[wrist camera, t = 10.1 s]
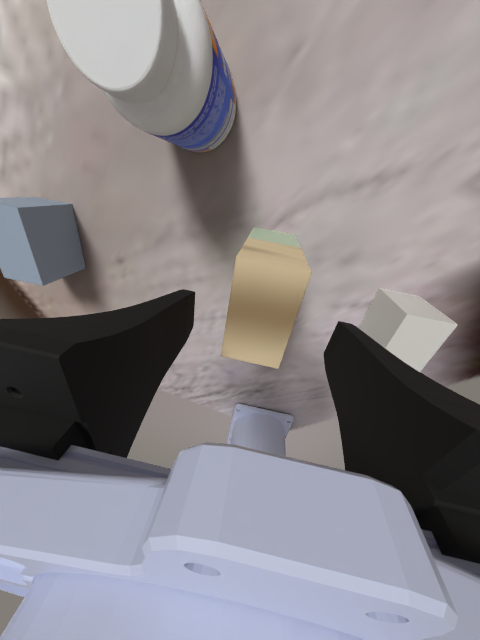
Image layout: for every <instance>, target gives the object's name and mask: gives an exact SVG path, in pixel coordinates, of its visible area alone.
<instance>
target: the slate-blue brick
mask: <svg viewBox="0 0 480 640" xmlns="http://www.w3.org/2000/svg"><path fill="white" fill-rule="evenodd" d="M0 268H1V270H2V273H3V275H4V277H5V278H9V279H14V280H18V281H23V282H28V283H33V284H37V285H42V286H44V285H46V284H48V283H51V282H53V281H56V280H58V279H61V278H63V277H66V276H68V275H71V274H73V273H75V272H78V271H80V270H83V269H85V268H86V267H85V262H84V258H83V253H82V248H81V244H80V239H79V234H78V230H77V225H76V220H75V216H74V211H73V206H72V204H69V203H64V202H59V201H54V200H48V199H43V198H38V197H16V198H0Z"/></svg>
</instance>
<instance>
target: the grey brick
mask: <svg viewBox="0 0 480 640" xmlns="http://www.w3.org/2000/svg"><path fill="white" fill-rule="evenodd" d="M457 325H458V324H456V323H455V322H454V321H452V320H451V319H450V318H448V317H447V316H446V315H444V314H443V313H441V312H440V311H439V310H437V309H436V308H435V307H433V306H432V305H431V304H429V303H428V302H427V301H425V300H424V299H423V298H421V297H420V296H417V295H412V294H407V293H402V292H397V291H392V290H387V289H382V288H379V289H378V291H377V293H376V295H375V297H374V299H373V301H372V303H371V305H370V307H369V308H368V310H367V312H366V314H365V316H364V318H363V320H362V322H361V324H360V325H359V327H358V328H359V329H360V330H362V331H363V332H364V333H366V334H367V335H368V336H370V337H371V338H372V339H373V340H375V341H376V342H377V343H379V344H380V345H381V346H383V347H384V348H385V349H387V350H388V351H389V352H391V353H392V354H393V355H395V356H396V357H398V358H399V359H401V360H402V361H403V362H405V363H406V364H408V365H409V366H411V367H412V368H414V369H415V370H417V371H419V372H420V371H421V370H422V369H423V367H424V366H425V365H426V364H427V362H428V361H429V360H430V359H431V357H432V356H433V355H434V354H435V352H436V351H437V350H438V349H439V347H440V346H441V345H442V344H443V343H444V341H445V340H446V339H447V338H448V336H449V335H450V334H451V333H452V331H453V330H454V329H455V328H456V326H457Z"/></svg>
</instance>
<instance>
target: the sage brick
mask: <svg viewBox="0 0 480 640" xmlns="http://www.w3.org/2000/svg"><path fill="white" fill-rule="evenodd" d="M248 237H249V238H254V239H259V240H264V241H269V242H274V243H279V244H284V245H289V246H294V247H299V248H300V246H299V244H298V241H297V239H296V236H295V235H293V234H288V233H283V232H278V231H273V230H267V229H262V228H257V227H254V228H253V229H252V231H251V232H250V234H249V236H248ZM248 237H247V238H248Z"/></svg>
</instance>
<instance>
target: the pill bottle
mask: <svg viewBox="0 0 480 640" xmlns="http://www.w3.org/2000/svg"><path fill="white" fill-rule="evenodd" d="M47 4H48V8H49V13H50V16H51V19H52V22H53V25H54V28H55V31H56V33H57V35H58V37H59V39H60V41H61V43H62V45H63V47H64V49H65V51H66V52H67V54H68V56H69V57H70V59H71V60H72V62H73V63H74V65H75V66H76V67H77V68H78V69H79V71H80V72H81V73H82V74H83V75H84V76H85V77H86V78H87V79H88V80H89V81H91V82H92V83H93V84H95V85H96V86H97V87H99V88H100V89H102V90H103V91H104V93H105V95H106V96H107V98H108V100H109V101H110V102H111V104H112V105H113V106H114V108H115V109H116V110H117V111H118V112H119V113H120V114H121V115H122V116H123V117H124V118H125V119H126V120H127V121H128V122H130V123H131V124H132V125H134V126H135V127H137V128H139V129H141V130H143V131H145V132H147V133H149V134H152V135H154V136H156V137H159V138H161V139H164V140H166V141H168V142H171V143H173V144H176V145H178V146H180V147H182V148H184V149H186V150H189V151H192V152H207V151H210V150H212V149H214V148H216V147H217V146H218V145H220V144H221V143H222V142H223V141H224V139H225V138H226V137H227V135H228V133H229V132H230V130H231V127H232V125H233V121H234V118H235V112H236V93H235V86H234V82H233V79H232V76H231V72H230V70H229V68H228V65H227V63H226V60H225V58H224V56H223V53H222V51H221V49H220V46H219V44H218V42H217V39H216V37H215V34H214V32H213V30H212V27H211V25H210V22H209V20H208V18H207V15H206V13H205V11H204V8H203V6H202V3H201V1H200V0H47Z"/></svg>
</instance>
